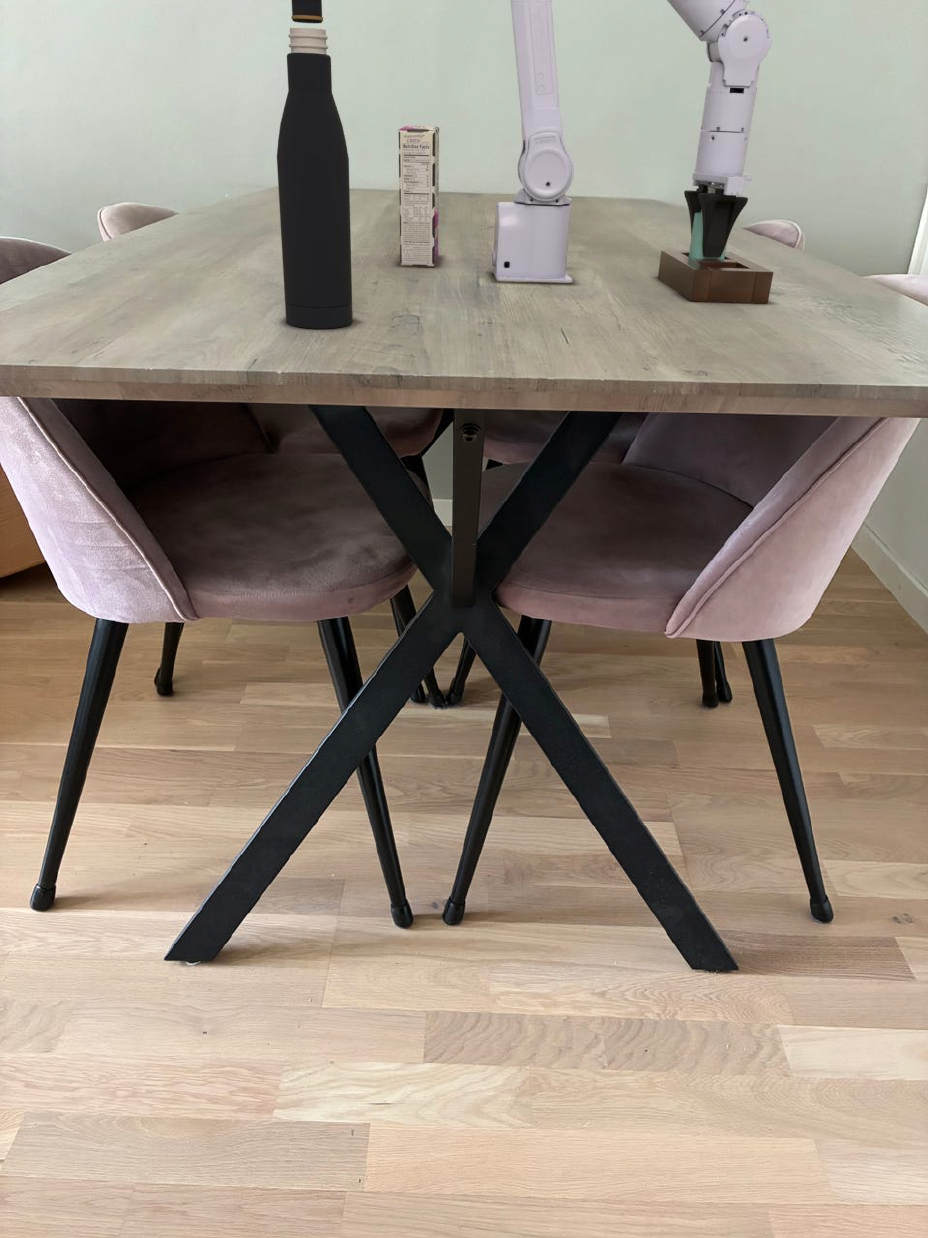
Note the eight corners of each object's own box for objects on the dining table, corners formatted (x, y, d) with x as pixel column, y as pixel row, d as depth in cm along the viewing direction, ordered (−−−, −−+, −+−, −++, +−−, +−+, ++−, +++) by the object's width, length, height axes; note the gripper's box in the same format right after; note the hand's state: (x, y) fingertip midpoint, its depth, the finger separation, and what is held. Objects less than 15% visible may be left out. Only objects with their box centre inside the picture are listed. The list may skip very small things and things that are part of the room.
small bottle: (691, 276, 115) (704, 188, 110) (682, 270, 119) (694, 185, 114) (726, 277, 115) (740, 189, 110) (715, 271, 119) (729, 186, 114)
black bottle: (340, 331, 87) (329, -63, 72) (276, 325, 88) (251, -63, 73) (360, 318, 92) (353, -50, 77) (299, 313, 93) (281, -51, 78)
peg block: (690, 301, 107) (695, 269, 105) (657, 277, 121) (661, 249, 120) (767, 303, 108) (773, 271, 106) (726, 279, 122) (730, 251, 120)
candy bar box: (403, 254, 132) (404, 124, 124) (438, 255, 132) (441, 126, 124) (397, 266, 122) (397, 126, 114) (435, 267, 122) (437, 127, 114)
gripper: (779, 134, 103) (756, 263, 110) (738, 131, 116) (720, 246, 122) (717, 132, 103) (698, 261, 109) (683, 129, 115) (668, 245, 122)
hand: (706, 253), depth 116 cm, fingers closed on small bottle, 4 cm apart
